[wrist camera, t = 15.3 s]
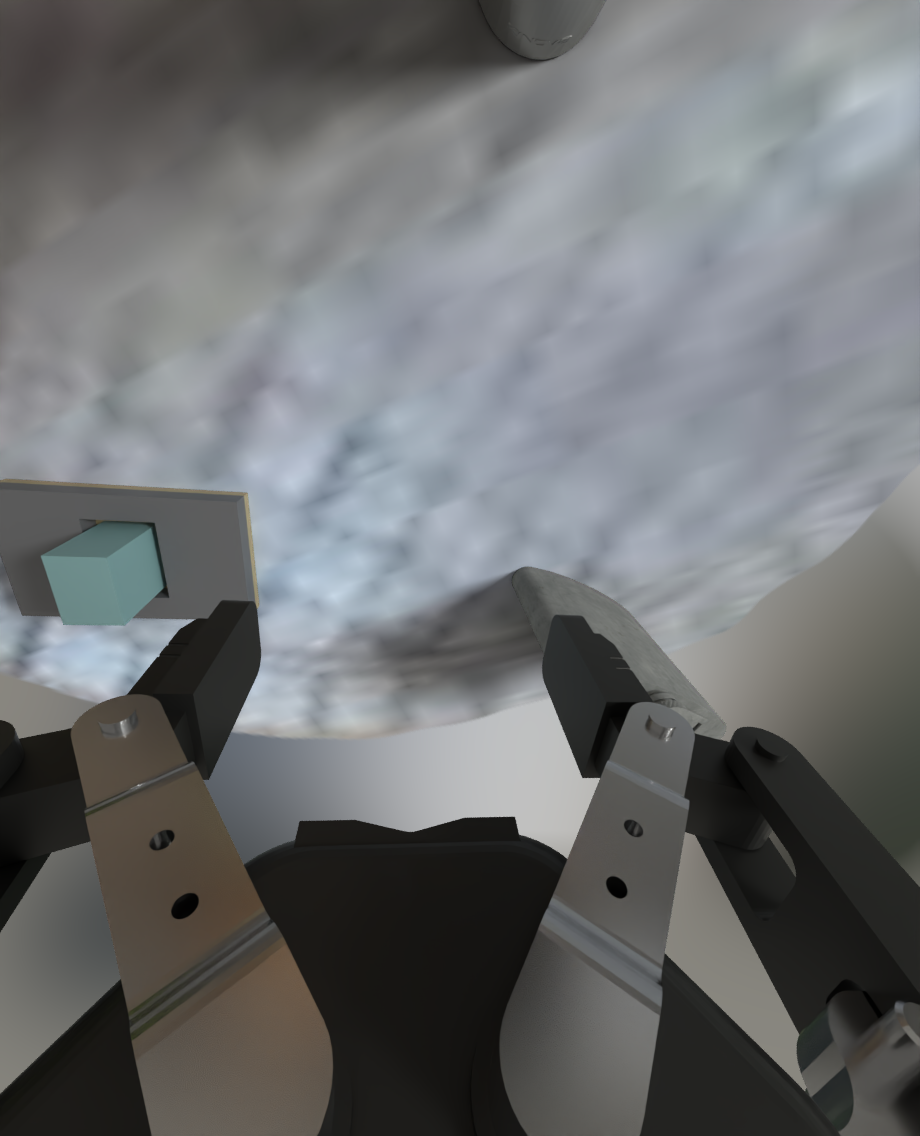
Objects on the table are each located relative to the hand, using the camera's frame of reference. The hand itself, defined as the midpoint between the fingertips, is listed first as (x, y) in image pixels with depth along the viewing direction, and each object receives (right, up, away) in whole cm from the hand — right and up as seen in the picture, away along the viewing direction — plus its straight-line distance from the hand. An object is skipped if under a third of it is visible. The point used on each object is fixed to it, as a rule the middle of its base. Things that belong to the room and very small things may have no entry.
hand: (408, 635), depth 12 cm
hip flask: (+14, -1, +39) cm, 41 cm away
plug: (-29, +3, +30) cm, 42 cm away
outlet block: (-29, +4, +31) cm, 42 cm away
